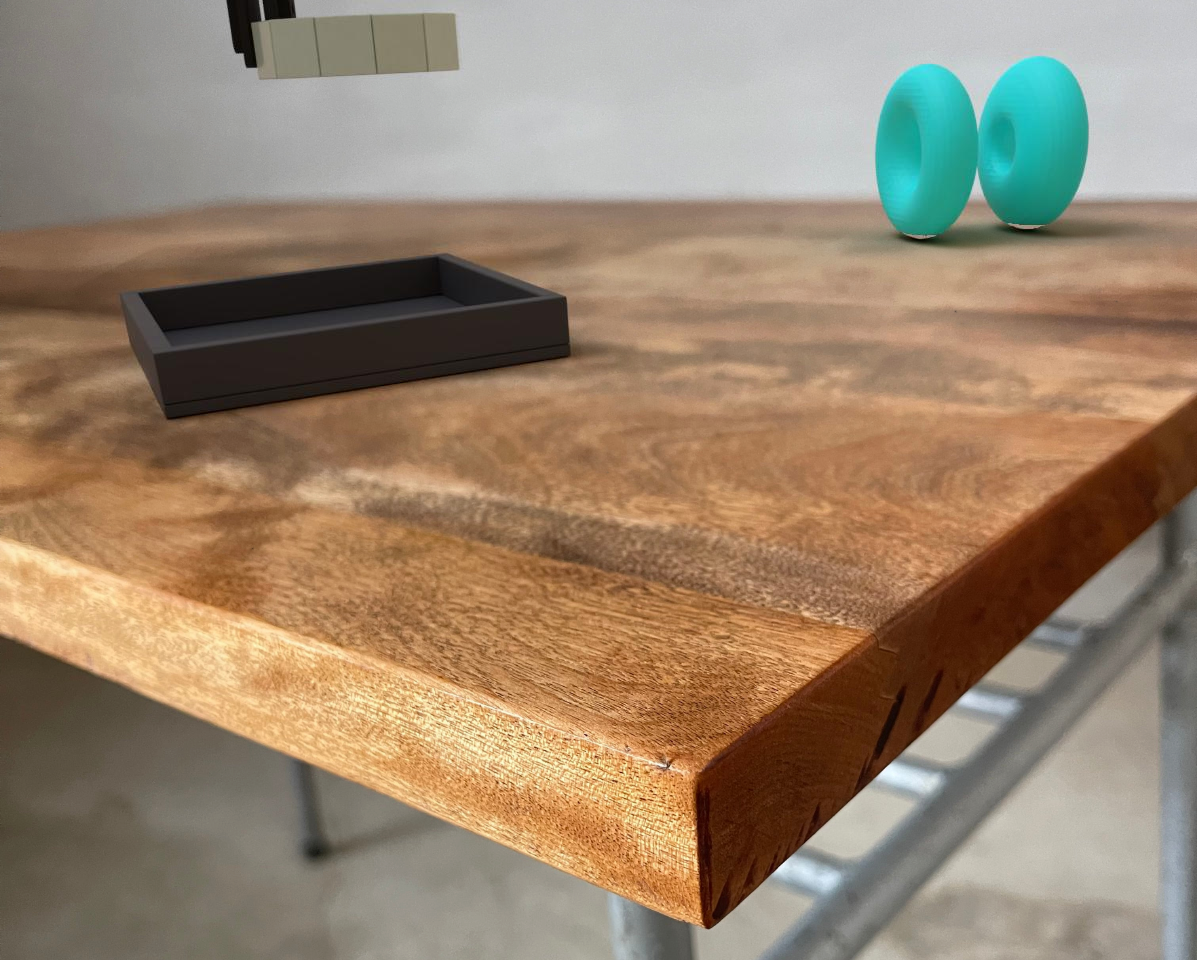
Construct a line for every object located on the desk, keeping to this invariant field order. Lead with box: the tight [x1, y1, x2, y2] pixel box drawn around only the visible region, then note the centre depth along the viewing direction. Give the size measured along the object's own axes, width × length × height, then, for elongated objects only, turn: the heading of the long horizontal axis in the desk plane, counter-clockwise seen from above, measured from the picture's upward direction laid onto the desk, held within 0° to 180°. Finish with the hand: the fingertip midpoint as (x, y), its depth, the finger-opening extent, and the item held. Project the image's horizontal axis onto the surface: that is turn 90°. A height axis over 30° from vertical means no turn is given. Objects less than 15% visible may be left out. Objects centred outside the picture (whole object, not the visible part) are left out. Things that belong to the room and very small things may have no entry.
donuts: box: [874, 55, 1090, 236], centre depth 75 cm, size 10×10×10 cm
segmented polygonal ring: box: [251, 12, 463, 81], centre depth 72 cm, size 12×12×3 cm
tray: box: [118, 252, 572, 419], centre depth 56 cm, size 17×17×2 cm
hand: (269, 65), depth 73 cm, fingers closed on segmented polygonal ring, 1 cm apart
